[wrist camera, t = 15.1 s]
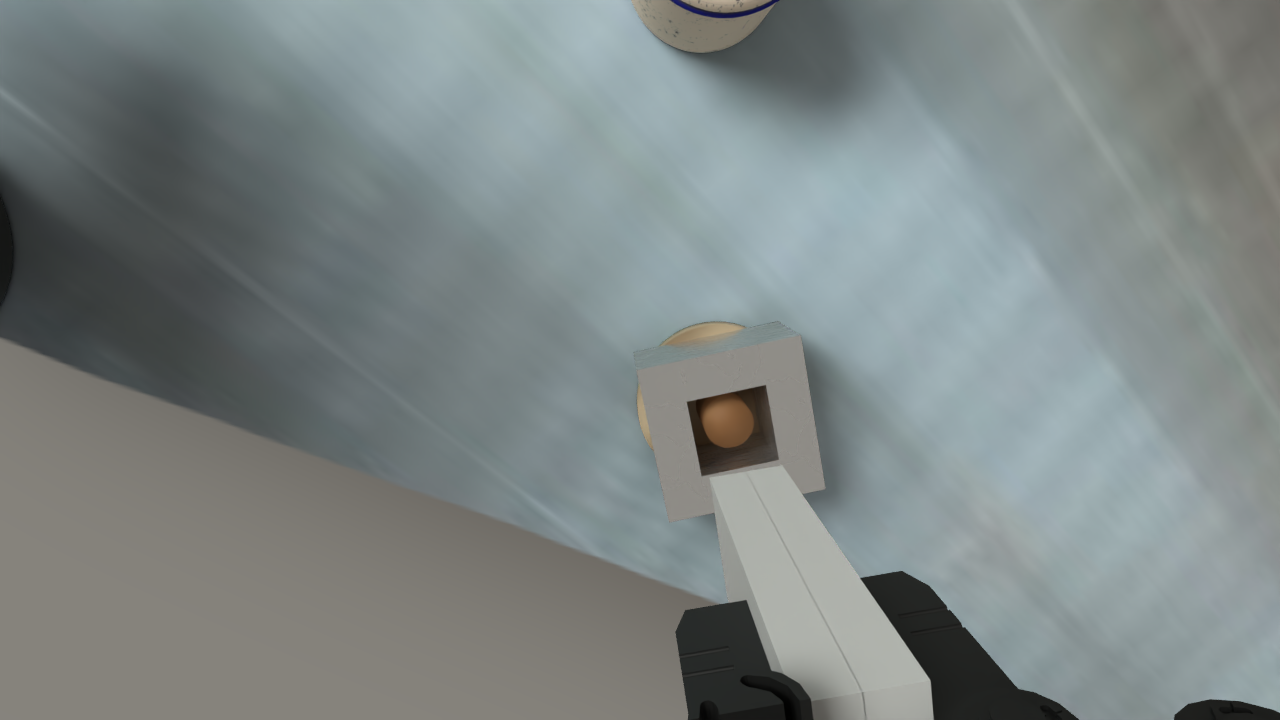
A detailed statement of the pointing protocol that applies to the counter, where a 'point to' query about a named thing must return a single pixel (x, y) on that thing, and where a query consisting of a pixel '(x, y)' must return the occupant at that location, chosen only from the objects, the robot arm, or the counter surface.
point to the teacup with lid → (702, 21)
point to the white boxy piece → (717, 368)
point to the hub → (712, 401)
